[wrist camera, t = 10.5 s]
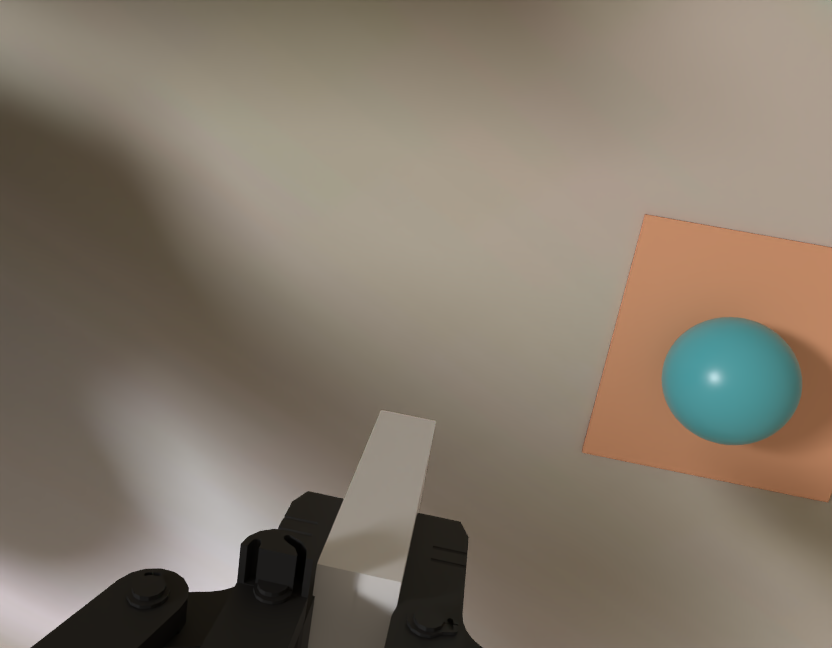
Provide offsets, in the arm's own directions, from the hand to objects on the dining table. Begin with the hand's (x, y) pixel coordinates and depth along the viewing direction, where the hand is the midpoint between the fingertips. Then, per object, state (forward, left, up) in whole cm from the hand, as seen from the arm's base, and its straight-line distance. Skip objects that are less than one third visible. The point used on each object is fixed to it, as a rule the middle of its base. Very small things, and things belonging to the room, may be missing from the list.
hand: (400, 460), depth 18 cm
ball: (+11, -6, -13) cm, 18 cm away
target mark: (+12, -7, -15) cm, 21 cm away
